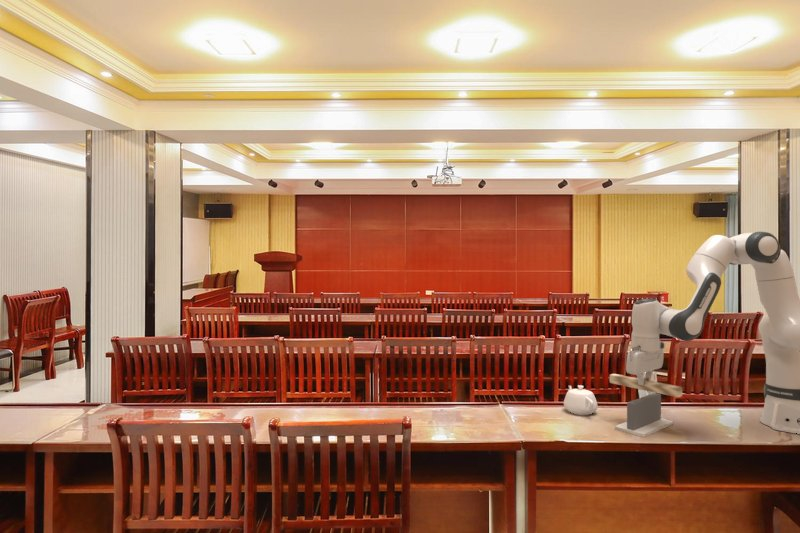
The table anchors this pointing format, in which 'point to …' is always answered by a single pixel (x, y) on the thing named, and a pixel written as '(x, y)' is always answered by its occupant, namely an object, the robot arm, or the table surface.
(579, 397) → the teapot
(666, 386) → the birch bar
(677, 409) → the table surface
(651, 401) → the stand
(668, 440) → the table surface
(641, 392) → the beer glass
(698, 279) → the robot arm
